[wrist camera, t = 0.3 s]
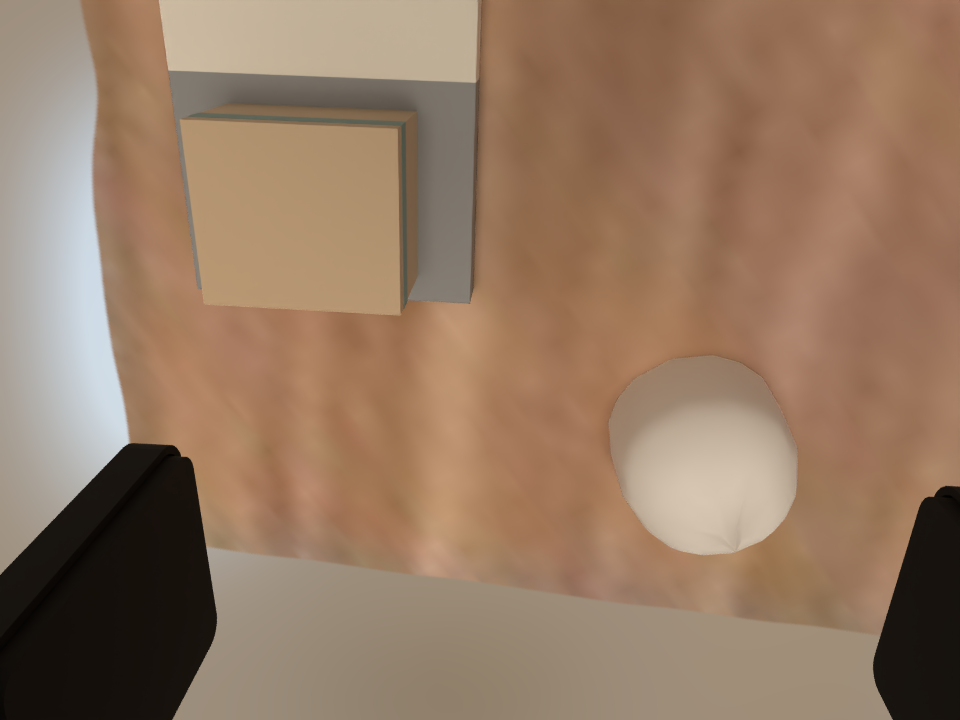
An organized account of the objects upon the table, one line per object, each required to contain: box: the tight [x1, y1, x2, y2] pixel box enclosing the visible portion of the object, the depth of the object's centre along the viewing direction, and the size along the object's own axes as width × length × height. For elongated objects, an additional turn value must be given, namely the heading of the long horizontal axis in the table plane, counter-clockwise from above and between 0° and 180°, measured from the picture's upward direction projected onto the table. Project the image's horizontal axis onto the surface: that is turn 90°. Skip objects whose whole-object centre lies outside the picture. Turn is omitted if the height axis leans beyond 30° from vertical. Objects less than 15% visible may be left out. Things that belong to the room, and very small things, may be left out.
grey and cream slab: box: [159, 0, 482, 304], centre depth 40 cm, size 26×16×2 cm, turn 178°
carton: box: [180, 103, 418, 315], centre depth 39 cm, size 9×10×6 cm
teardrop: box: [608, 355, 798, 555], centre depth 44 cm, size 11×11×12 cm
